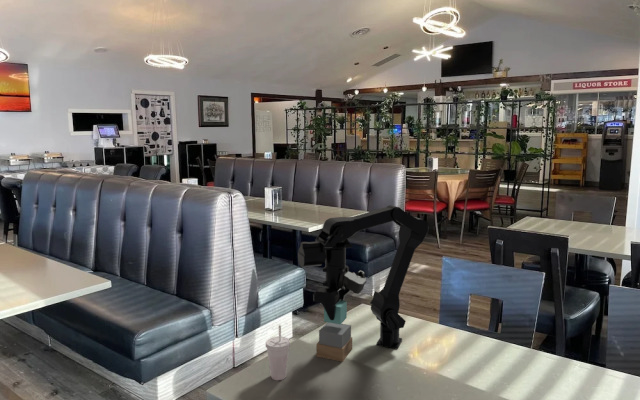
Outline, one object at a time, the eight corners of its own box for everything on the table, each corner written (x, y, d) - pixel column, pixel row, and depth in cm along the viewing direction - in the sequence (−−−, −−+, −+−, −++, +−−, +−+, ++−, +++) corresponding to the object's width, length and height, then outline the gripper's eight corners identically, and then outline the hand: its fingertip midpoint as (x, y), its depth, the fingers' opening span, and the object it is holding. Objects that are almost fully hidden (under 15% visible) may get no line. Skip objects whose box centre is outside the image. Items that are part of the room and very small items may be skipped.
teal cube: (330, 315, 136) (330, 298, 135) (346, 317, 134) (346, 301, 133) (324, 321, 131) (323, 304, 130) (340, 324, 129) (340, 307, 128)
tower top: (328, 334, 137) (328, 321, 137) (350, 338, 135) (351, 325, 134) (319, 343, 131) (319, 330, 131) (342, 348, 128) (342, 334, 128)
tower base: (327, 345, 139) (327, 332, 138) (352, 350, 136) (352, 337, 135) (316, 357, 132) (316, 344, 131) (342, 362, 129) (342, 349, 128)
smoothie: (286, 384, 117) (286, 331, 115) (262, 381, 118) (261, 329, 116) (293, 371, 123) (292, 321, 121) (270, 369, 124) (269, 319, 122)
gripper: (352, 276, 118) (351, 334, 121) (372, 257, 135) (371, 308, 138) (312, 271, 122) (312, 327, 125) (336, 254, 140) (336, 303, 142)
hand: (335, 316), depth 132 cm, fingers closed on teal cube, 5 cm apart
